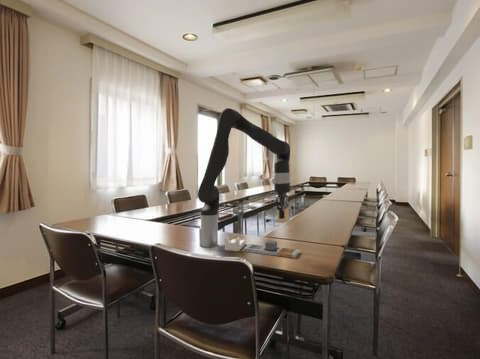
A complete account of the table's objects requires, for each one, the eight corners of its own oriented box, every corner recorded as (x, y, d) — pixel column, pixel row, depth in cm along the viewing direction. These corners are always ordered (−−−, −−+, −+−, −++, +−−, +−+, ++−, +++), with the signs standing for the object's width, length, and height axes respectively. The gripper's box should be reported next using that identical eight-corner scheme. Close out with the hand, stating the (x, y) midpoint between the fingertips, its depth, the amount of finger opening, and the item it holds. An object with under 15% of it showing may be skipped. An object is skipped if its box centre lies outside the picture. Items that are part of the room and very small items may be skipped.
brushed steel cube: (265, 252, 135) (265, 242, 135) (268, 250, 139) (268, 240, 139) (274, 253, 133) (274, 243, 133) (276, 251, 137) (276, 241, 137)
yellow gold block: (277, 221, 132) (277, 208, 131) (280, 220, 136) (279, 207, 135) (286, 222, 130) (286, 208, 129) (289, 220, 134) (288, 207, 134)
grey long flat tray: (243, 253, 137) (243, 248, 137) (250, 248, 145) (250, 243, 145) (295, 260, 126) (295, 254, 126) (299, 254, 135) (299, 249, 135)
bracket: (238, 253, 138) (238, 238, 137) (224, 252, 140) (224, 237, 139) (245, 246, 150) (245, 232, 150) (232, 245, 152) (232, 232, 152)
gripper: (278, 181, 140) (279, 215, 141) (269, 183, 127) (271, 220, 128) (293, 181, 137) (294, 215, 137) (285, 183, 124) (286, 220, 124)
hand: (283, 217), depth 133 cm, fingers closed on yellow gold block, 4 cm apart
